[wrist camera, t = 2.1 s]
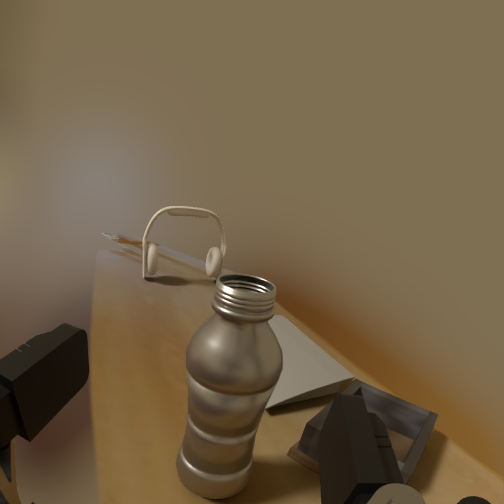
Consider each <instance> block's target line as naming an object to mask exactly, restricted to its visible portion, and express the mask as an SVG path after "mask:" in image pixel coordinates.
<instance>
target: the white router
mask: <svg viewBox="0 0 504 504" xmlns="http://www.w3.org/2000/svg"><path fill="white" fill-rule="evenodd" d="M268 323H269V325H270V327H271V328H272V330H273V332H274V334H275V335H276V337H277V339H278V342H279V344H280V346H281V349H282V352H283V370H282V373H281V375H280V378H279V380H278V382H277V384H276V387H275V389H274V391H273V393H272V395H271V397H270V399H269V401H268V403H267V405H266V407H265V410H266V409H268V408H270V407H273V406H279V405H284V404H289V403H294V402H298V401H303V400H307V399H312V398H316V397H320V396H324V395H328V394H332V393H336V392H338V391H339V388H340V386H341V383H342V381H345V380H349V379H353V378H355V377H354V376H353V375H352V374H351V373H349V372H348V371H347V370H346V369H345V368H343V367H342V366H341V365H340V364H339V363H338V362H336V361H335V360H334V359H333V358H332V357H330V356H329V355H328V354H327V353H326V352H325V351H323V350H322V349H321V348H320V347H319V346H318V345H316V344H315V343H314V342H313V341H312V340H310V339H309V338H308V337H307V336H306V335H305V334H303V333H302V332H301V331H300V330H299V329H298V328H297V327H295V326H294V325H293V324H292V323H291V322H290V321H288V320H287V319H286V318H285V317H284V316H283V315H276V316H273V318H272V319H270V320H268Z"/></svg>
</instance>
